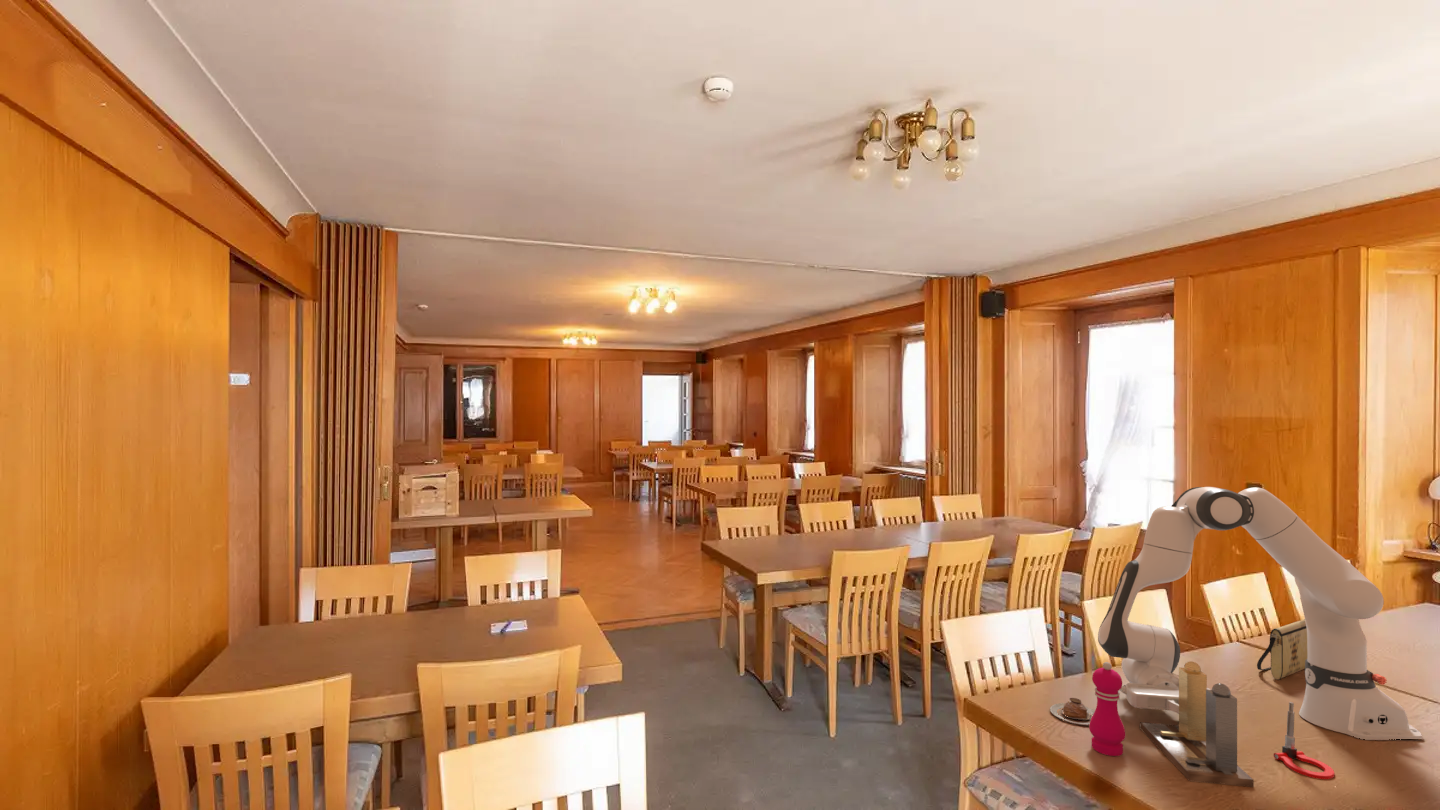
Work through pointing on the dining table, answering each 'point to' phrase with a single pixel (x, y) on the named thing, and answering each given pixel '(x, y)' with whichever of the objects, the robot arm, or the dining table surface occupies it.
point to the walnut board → (1217, 776)
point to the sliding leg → (1191, 703)
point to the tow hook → (1299, 753)
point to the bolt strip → (1179, 748)
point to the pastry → (1073, 711)
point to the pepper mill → (1107, 712)
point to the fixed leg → (1220, 730)
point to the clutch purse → (1287, 649)
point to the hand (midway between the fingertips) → (1188, 712)
